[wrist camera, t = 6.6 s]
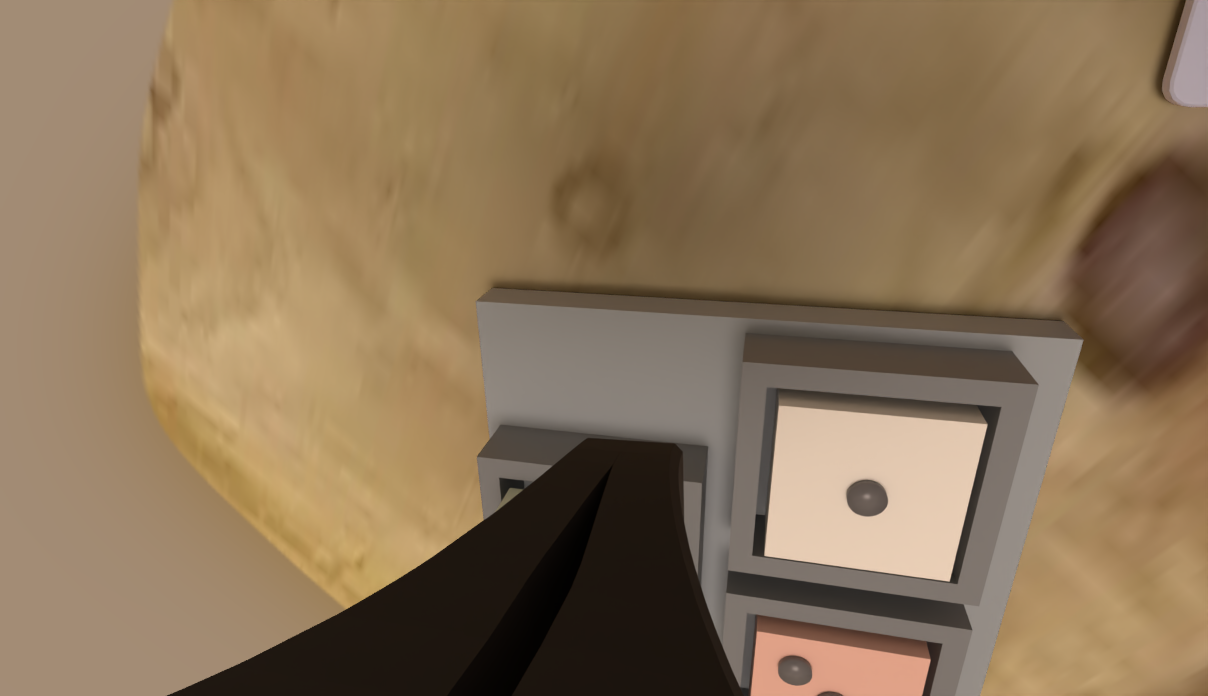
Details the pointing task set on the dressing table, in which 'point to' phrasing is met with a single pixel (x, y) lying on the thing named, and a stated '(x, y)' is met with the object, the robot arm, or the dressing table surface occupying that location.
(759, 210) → the dressing table surface
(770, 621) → the tile coral
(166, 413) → the dressing table surface
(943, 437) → the tile ivory
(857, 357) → the stacking puzzle board
